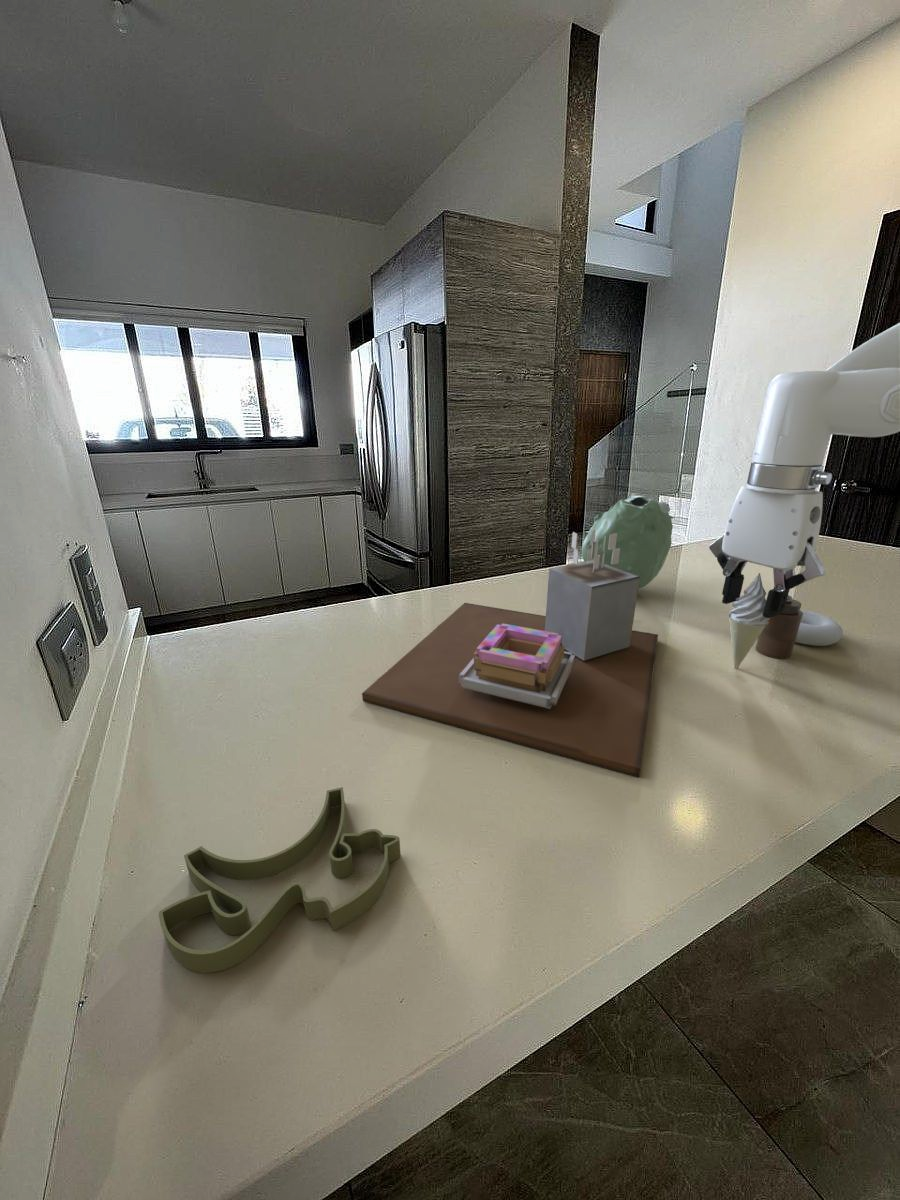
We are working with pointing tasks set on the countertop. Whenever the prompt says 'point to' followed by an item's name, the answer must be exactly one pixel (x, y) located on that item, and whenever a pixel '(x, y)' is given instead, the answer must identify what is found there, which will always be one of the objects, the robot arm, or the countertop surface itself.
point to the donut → (818, 630)
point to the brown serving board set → (540, 669)
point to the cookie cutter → (286, 900)
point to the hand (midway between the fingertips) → (750, 607)
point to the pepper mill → (781, 631)
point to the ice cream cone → (747, 620)
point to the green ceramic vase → (634, 536)
